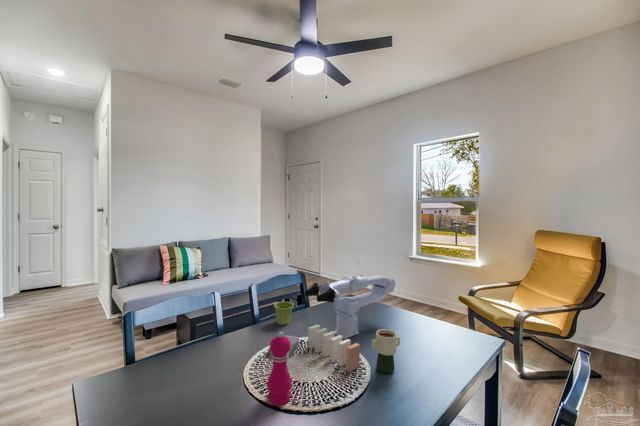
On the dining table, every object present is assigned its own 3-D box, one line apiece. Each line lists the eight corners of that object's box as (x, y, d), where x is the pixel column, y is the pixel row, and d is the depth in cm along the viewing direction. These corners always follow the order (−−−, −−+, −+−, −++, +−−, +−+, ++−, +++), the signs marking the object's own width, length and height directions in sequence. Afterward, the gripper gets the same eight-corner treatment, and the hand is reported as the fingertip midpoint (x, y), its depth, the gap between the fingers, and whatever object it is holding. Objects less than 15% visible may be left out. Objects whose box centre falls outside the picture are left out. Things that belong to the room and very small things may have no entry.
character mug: (393, 362, 109) (394, 327, 109) (404, 373, 102) (405, 335, 102) (366, 366, 106) (367, 330, 105) (376, 378, 99) (377, 339, 99)
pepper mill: (267, 391, 91) (269, 326, 90) (291, 390, 91) (292, 326, 91) (265, 407, 84) (266, 337, 83) (291, 406, 84) (292, 337, 84)
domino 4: (339, 355, 113) (339, 334, 113) (342, 357, 112) (342, 336, 112) (329, 360, 110) (330, 338, 109) (332, 361, 109) (333, 340, 108)
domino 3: (331, 351, 116) (331, 331, 116) (334, 353, 115) (334, 332, 115) (321, 355, 113) (322, 334, 113) (324, 357, 112) (325, 336, 111)
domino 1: (317, 343, 122) (317, 324, 122) (319, 345, 121) (320, 325, 121) (307, 347, 119) (308, 327, 119) (310, 348, 118) (310, 328, 118)
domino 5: (347, 360, 110) (347, 338, 110) (350, 361, 109) (350, 340, 109) (337, 364, 107) (338, 342, 106) (340, 366, 105) (341, 344, 105)
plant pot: (297, 321, 144) (297, 304, 144) (284, 328, 136) (285, 309, 136) (282, 317, 149) (282, 300, 149) (269, 323, 141) (269, 305, 141)
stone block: (267, 360, 112) (292, 358, 110) (265, 347, 112) (290, 345, 110) (278, 346, 124) (301, 344, 122) (276, 335, 124) (299, 333, 122)
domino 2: (324, 347, 119) (324, 327, 119) (326, 348, 118) (327, 329, 118) (314, 351, 116) (315, 331, 116) (317, 352, 115) (317, 332, 115)
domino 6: (355, 364, 107) (356, 342, 107) (359, 366, 106) (359, 344, 105) (346, 369, 104) (346, 347, 103) (349, 371, 102) (350, 348, 102)
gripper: (324, 275, 133) (300, 282, 124) (347, 283, 122) (323, 291, 113) (324, 291, 133) (300, 298, 124) (347, 300, 122) (323, 309, 114)
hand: (311, 296), depth 119 cm, fingers open, 7 cm apart
